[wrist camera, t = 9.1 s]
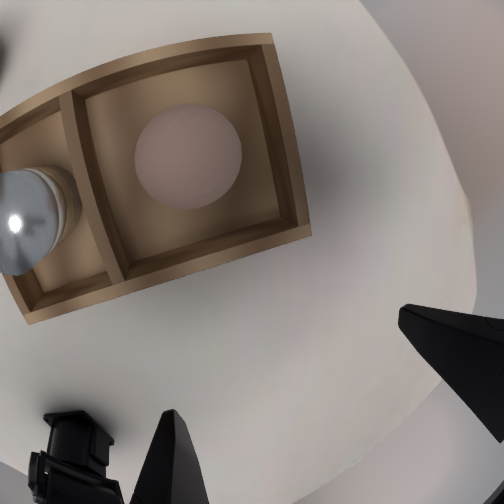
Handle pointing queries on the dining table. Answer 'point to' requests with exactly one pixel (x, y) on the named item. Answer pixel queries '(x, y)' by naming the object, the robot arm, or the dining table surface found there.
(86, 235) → the crate
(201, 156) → the egg
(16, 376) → the dining table surface
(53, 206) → the tin
